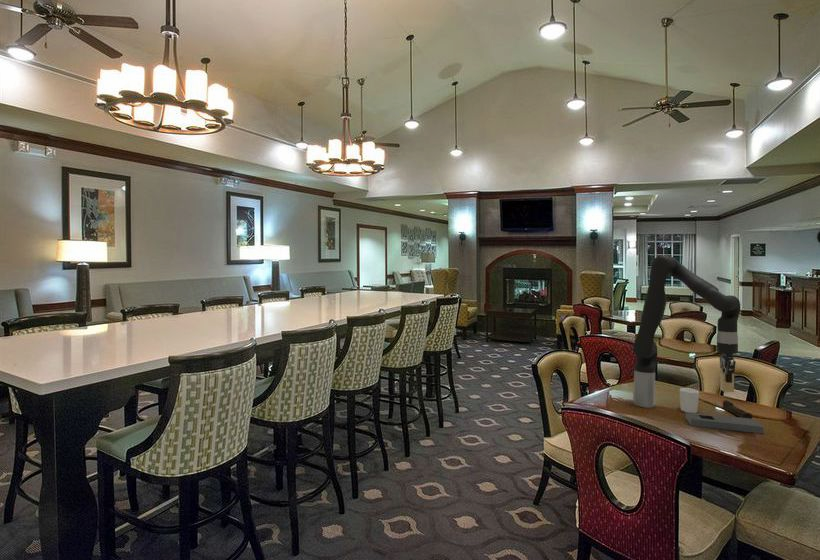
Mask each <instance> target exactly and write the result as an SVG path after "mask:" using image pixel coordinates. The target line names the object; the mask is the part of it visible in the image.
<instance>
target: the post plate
mask: <svg viewBox="0 0 820 560" xmlns="http://www.w3.org/2000/svg"><path fill="white" fill-rule="evenodd" d="M685 420H686V421H687V422H688V424H689V425H690V427H696V428H697V427H699V428H708V429H715V430H725V431H733V432H735V431H736V432H744V433H751V432H753V433H752V434H760V433H761V434H763V435H764V426H763V425H762V424H761V423H760V422H758V421H757V420H756V419H755V418H752V419H749V418H740V417H739V416H729V415H721V414H720V415H718V414H711V413H710V414H707V413H698V412H696V413H691V412H685ZM761 434H760V435H761Z"/></svg>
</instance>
